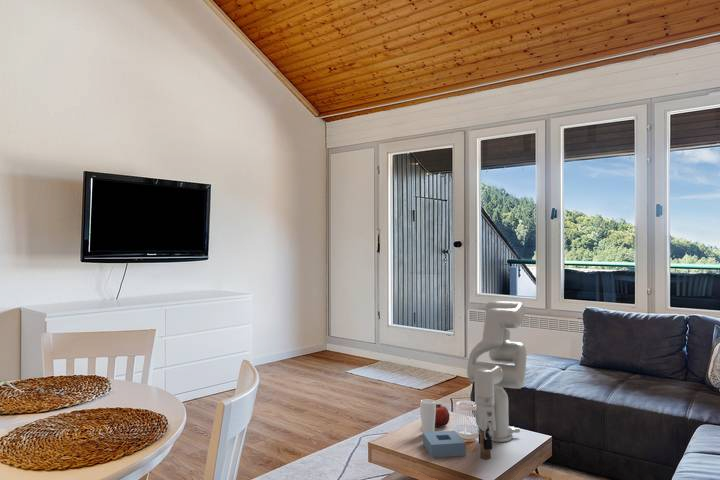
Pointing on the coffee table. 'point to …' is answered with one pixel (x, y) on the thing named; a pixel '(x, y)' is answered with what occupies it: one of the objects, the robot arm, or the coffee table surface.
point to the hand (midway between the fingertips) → (485, 446)
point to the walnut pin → (483, 453)
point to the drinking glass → (428, 415)
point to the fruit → (441, 415)
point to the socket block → (444, 444)
